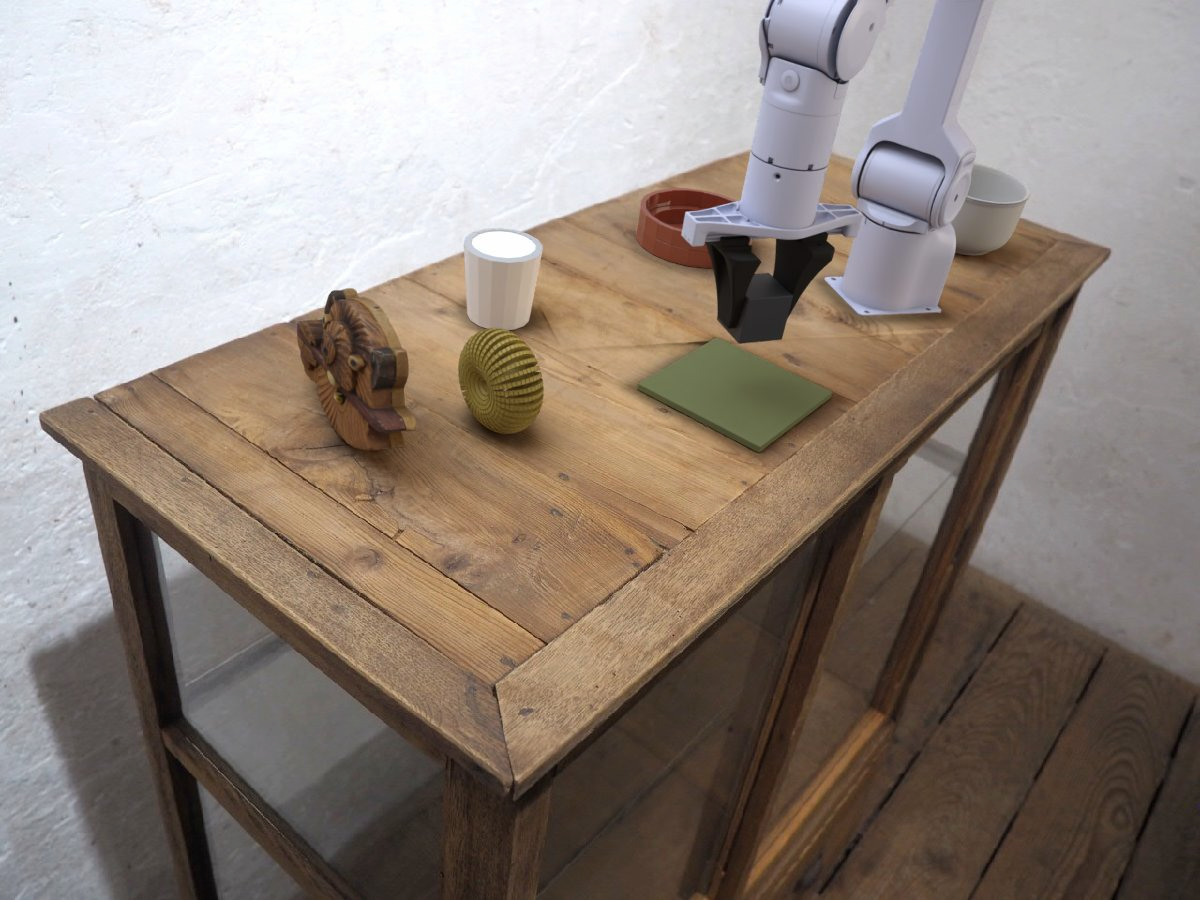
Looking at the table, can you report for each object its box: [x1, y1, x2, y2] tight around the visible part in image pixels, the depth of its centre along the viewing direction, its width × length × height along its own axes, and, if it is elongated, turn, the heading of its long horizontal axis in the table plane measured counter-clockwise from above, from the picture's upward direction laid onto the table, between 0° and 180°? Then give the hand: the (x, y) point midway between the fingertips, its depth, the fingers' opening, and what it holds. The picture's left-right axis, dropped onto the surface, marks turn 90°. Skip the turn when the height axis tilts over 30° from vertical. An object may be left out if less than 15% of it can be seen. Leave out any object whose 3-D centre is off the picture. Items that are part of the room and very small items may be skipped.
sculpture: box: [457, 328, 545, 435], centre depth 78 cm, size 8×4×8 cm, turn 40°
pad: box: [636, 337, 833, 453], centre depth 88 cm, size 12×12×1 cm
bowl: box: [635, 187, 754, 269], centre depth 111 cm, size 12×12×4 cm
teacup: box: [951, 161, 1031, 257], centre depth 119 cm, size 14×11×8 cm
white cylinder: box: [463, 227, 544, 331], centre depth 93 cm, size 7×7×7 cm
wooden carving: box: [296, 287, 417, 451], centre depth 75 cm, size 16×5×10 cm, turn 38°
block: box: [716, 272, 793, 345], centre depth 84 cm, size 4×4×4 cm
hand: (751, 320), depth 85 cm, fingers closed on block, 4 cm apart
